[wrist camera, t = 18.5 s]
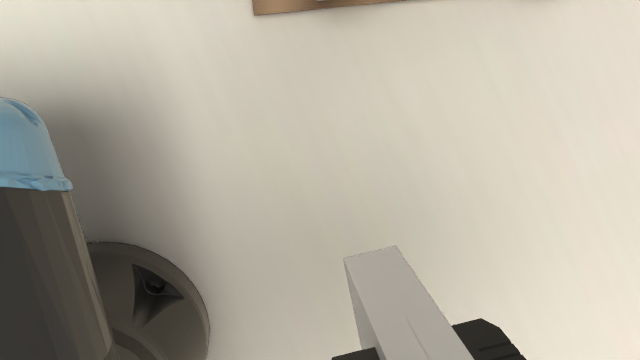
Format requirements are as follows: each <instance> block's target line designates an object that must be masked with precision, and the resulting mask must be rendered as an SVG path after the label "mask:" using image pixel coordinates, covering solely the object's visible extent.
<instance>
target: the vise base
mask: <svg viewBox="0 0 640 360" xmlns="http://www.w3.org/2000/svg"><path fill="white" fill-rule="evenodd" d="M395 1H405V0H322V1H316V0H252V2H253V10H254V15H262V14H272V13H283V12H293V11H303V10H313V9H323V8H334V7H344V6H354V5H364V4H375V3H385V2H395Z"/></svg>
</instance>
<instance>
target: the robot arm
mask: <svg viewBox="0 0 640 360" xmlns="http://www.w3.org/2000/svg"><path fill="white" fill-rule="evenodd" d="M71 190H73V186H72V183H71V182H70V180H69V179H67V178H66V177H65V176H64V174H63V171H62V168H61V165H60V163H59V160H58V157H57V154H56V152H55V149H54V146H53V143H52V140H51V138H50V135H49V132H48V129H47V127H46V125H45V123H44V121H43V119H42V118H41V117H40V116H39V114H38V113H37V112H36V111H35V110H33V109H32V108H31V107H29V106H28V105H26V104H24V103H22V102H20V101H17V100H14V99H9V98H3V97H0V360H206V356H207V349H208V342H209V322H208V316H207V312H206V309H205V306H204V303H203V301H202V299H201V297H200V295H199V293H198V291H197V290H196V288H195V287H194V285H193V284H192V282H191V281H190V280H189V279H188V278H187V277H186V276H185V274H184V273H183V272H181V271H180V270H179V269H178V268H177V267H176V266H174V265H173V264H172V263H170V262H169V261H167V260H166V259H164V258H162V257H161V256H159V255H157V254H155V253H153V252H150V251H148V250H145V249H143V248H139V247H136V246H132V245H127V244H122V243H111V242H98V243H89V244H86V242H85V238H84V235H83V232H82V228H81V225H80V222H79V218H78V215H77V212H76V208H75V205H74V202H73V198H72V195H71V192H70V191H71ZM343 260H344V265H345V270H346V274H347V279H348V284H349V289H350V294H351V299H352V304H353V309H354V314H355V319H356V324H357V328H358V333H359V338H360V343H361V346H362V349H363V350H360V351H356V352H352V353H348V354H344V355H340V356H336V357H332V360H526V359H525V358H524V356H523V355H521V354H520V352H519V350H518V349H517V348H516V347H515V346H514V344H511V341H510V340H509V339H508V337H507V336H506V335H505V334H504V333H503V331H502V330H501V329H500V328H499V327H497V326H495V325H493V324H491V323H489V322H487V321H485V320H483V319H481V318H480V319H476V320H472V321H469V322H465V323H461V324H457V325H453V326H451V325H450V324H449V322H448V321H447V319H446V318H445V316H444V315H443V314H442V312H441V311H440V309H439V308H438V306H437V305H436V303H435V302H434V300H433V299H432V298H431V296H430V295H429V293H428V292H427V290H426V289H425V287H424V286H423V284H422V283H421V282H420V280H419V279H418V277H417V276H416V274H415V273H414V271H413V270H412V268H411V267H410V266H409V264H408V263H407V261H406V260H405V258H404V257H403V255H402V254H401V252H400V251H399V250H398V248H397V247H396V246H393V247H388V248H384V249H380V250H376V251H372V252H368V253H363V254H359V255H355V256H351V257H347V258H343Z"/></svg>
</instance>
